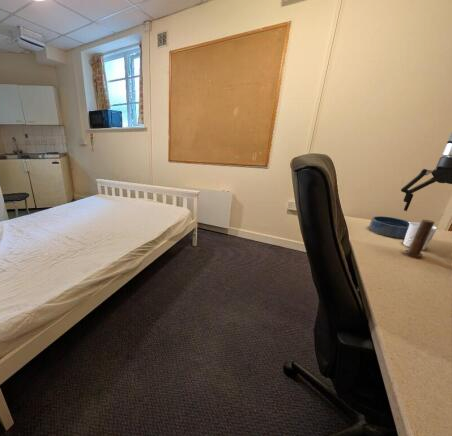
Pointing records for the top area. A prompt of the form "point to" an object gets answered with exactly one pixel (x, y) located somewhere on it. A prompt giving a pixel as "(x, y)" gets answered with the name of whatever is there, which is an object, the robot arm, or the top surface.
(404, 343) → the top surface
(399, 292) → the top surface
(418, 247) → the wooden masher
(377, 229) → the bowl
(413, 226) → the white cup
